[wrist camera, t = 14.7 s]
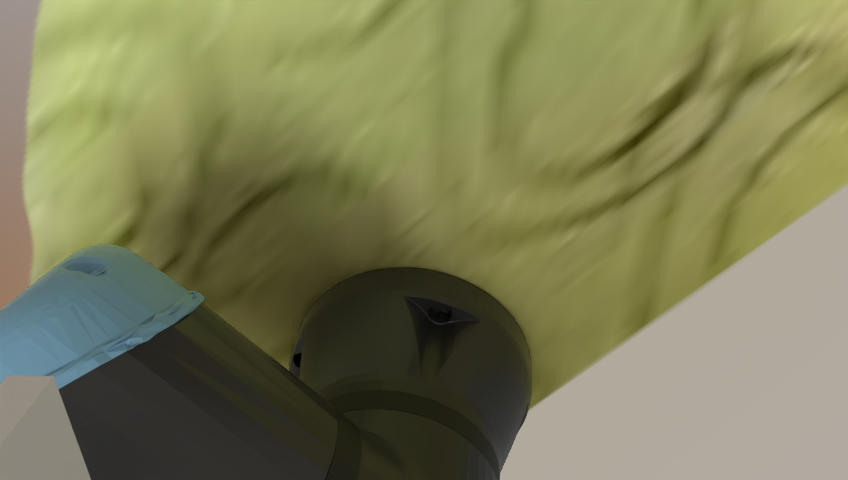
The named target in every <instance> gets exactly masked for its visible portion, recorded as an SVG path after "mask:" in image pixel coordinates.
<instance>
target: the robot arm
mask: <svg viewBox="0 0 848 480" xmlns="http://www.w3.org/2000/svg"><path fill="white" fill-rule="evenodd" d="M204 299H205V297H204V296H203V295H201V294H200V293H199V292H197V291H188V290H187V289H186V288H184V287H183V286H181V285H180V284H178V283H177V282H176V281H174V280H173V279H171V278H170V277H169V276H167V275H166V274H164V273H163V272H162V271H160V270H159V269H157V268H156V267H154V266H153V265H152V264H150V263H149V262H147V261H146V260H145V259H143V258H142V257H140V256H139V255H138V254H136V253H134V252H133V251H131V250H129V249H126V248H124V247H121V246H116V245H110V244H100V245H94V246H89V247H86V248H83V249H81V250H78V251H77V252H75V253H73V254H72V255H70V256H69V257H67V258H66V259H65V260H63V261H62V262H60V263H59V264H58V265H56V266H55V267H54V268H53V269H51V270H50V271H49V272H47V273H46V274H45V275H44V276H42V277H41V278H40V279H39V280H37V281H36V282H35V283H33V284H32V285H31V286H30V287H28V288H27V289H26V290H25V291H23V292H22V293H21V294H20V295H18V296H17V297H16V298H15V299H14V300H12V301H11V302H10V303H8V304H7V305H6V306H5V307H3V308H2V309H1V310H0V480H500V472H501V470H502V467H503V465H504V463H505V460H506V458H507V456H508V454H509V452H510V449H511V447H512V445H513V442H514V440H515V437H516V435H517V433H518V431H519V429H520V428H521V426H522V424H523V423H524V420H525V418H526V416H527V413H528V410H529V405H530V400H531V392H532V381H531V357H530V352H529V348H528V345H527V342H526V340H525V337H524V335H523V333H522V331H521V330H520V328H519V326H518V325H517V323H516V322H515V320H514V319H513V318H512V316H511V315H510V314H509V313H508V312H507V311H506V310H505V309H504V308H503V307H502V306H501V305H500V304H499V303H498V302H497V301H496V300H494V299H493V298H492V297H490V296H489V295H488V294H486V293H485V292H483V291H482V290H480V289H478V288H477V287H475V286H473V285H471V284H469V283H467V282H465V281H463V280H460V279H457V278H455V277H452V276H449V275H446V274H442V273H438V272H434V271H429V270H422V269H412V268H392V269H382V270H376V271H371V272H367V273H363V274H360V275H357V276H354V277H352V278H349V279H347V280H345V281H343V282H341V283H339V284H337V285H336V286H334V287H333V288H331V289H330V290H328V291H327V292H326V293H325V294H323V295H322V296H321V297H320V298H319V299H318V300H317V301H316V302H315V303H314V305H313V306H312V307H311V308H310V310H309V311H308V313H307V315H306V316H305V318H304V320H303V322H302V325H301V327H300V330H299V332H298V335H297V337H296V340H295V343H294V345H293V348H292V352H291V357H290V363H289V371H288V370H287V369H286V368H285V367H283V366H282V365H281V364H279V363H278V362H277V361H276V360H274V359H273V358H272V357H270V356H269V355H268V354H267V353H265V352H264V351H263V350H262V349H260V348H259V347H258V346H256V345H255V344H254V343H253V342H251V341H250V340H249V339H247V338H246V337H245V336H244V335H242V334H241V333H240V332H239V331H237V330H236V329H235V328H233V327H232V326H231V325H230V324H228V323H227V322H226V321H224V320H223V319H222V318H221V317H219V316H218V315H217V314H216V313H214V312H213V311H212V310H211V309H209V308H208V307H207V306H206V305H204V304H203V303H202V302H203V301H204Z"/></svg>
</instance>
